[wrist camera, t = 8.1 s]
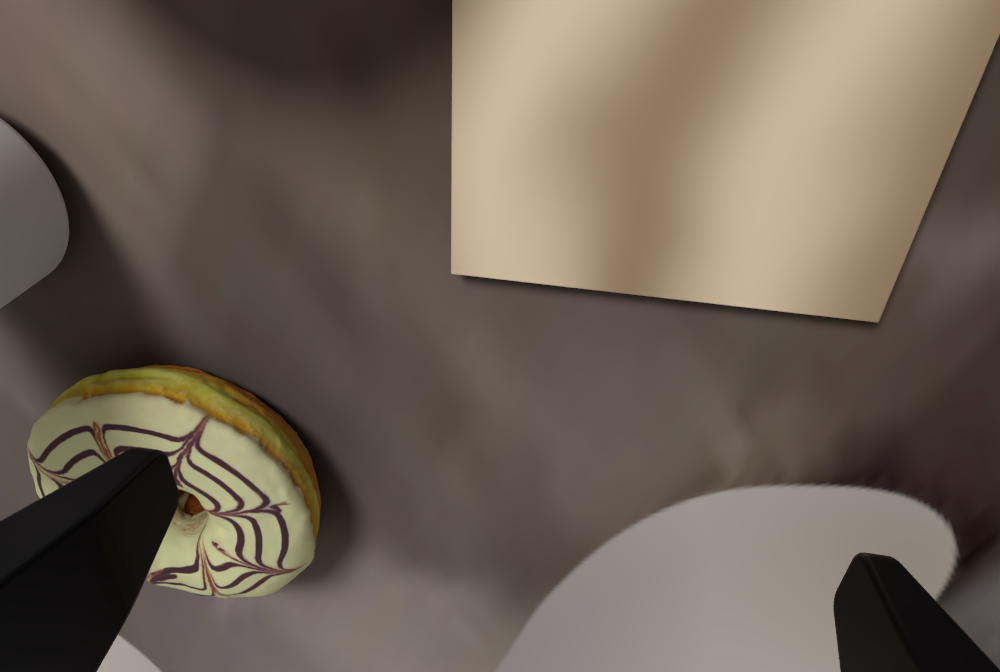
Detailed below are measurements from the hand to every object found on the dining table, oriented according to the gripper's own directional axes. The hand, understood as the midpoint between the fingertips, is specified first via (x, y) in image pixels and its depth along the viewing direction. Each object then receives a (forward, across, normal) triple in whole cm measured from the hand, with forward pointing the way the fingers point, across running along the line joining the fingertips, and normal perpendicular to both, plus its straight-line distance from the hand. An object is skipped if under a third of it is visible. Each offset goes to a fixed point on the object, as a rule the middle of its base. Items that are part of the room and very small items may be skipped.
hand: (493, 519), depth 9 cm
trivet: (+12, -3, -3) cm, 13 cm away
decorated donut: (+12, +13, +13) cm, 22 cm away
